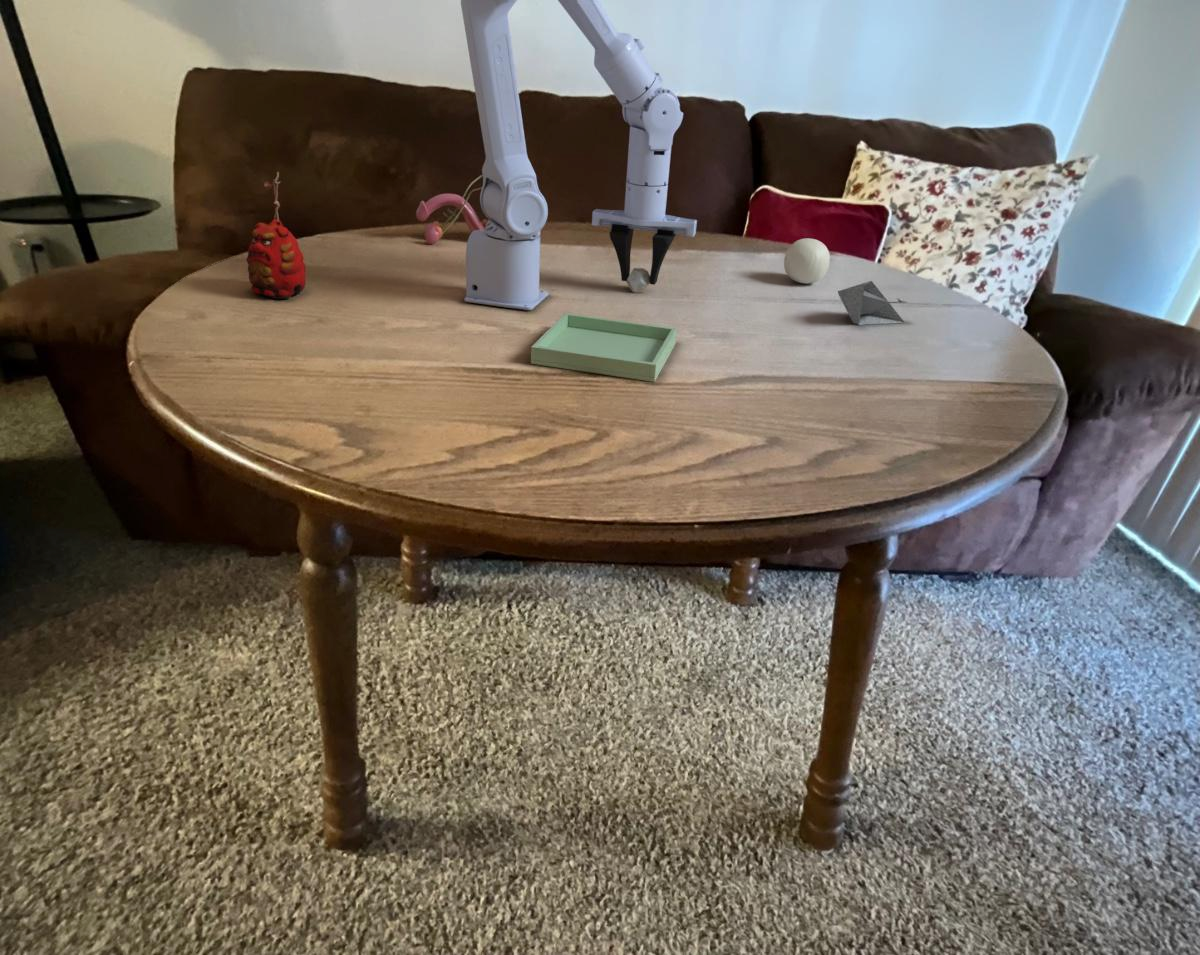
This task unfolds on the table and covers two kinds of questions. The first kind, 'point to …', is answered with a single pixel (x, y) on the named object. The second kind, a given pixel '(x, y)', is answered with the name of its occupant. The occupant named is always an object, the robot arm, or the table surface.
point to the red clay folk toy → (275, 257)
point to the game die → (638, 280)
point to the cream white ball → (807, 260)
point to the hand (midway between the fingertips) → (639, 281)
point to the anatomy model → (434, 229)
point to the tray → (605, 347)
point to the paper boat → (869, 305)
